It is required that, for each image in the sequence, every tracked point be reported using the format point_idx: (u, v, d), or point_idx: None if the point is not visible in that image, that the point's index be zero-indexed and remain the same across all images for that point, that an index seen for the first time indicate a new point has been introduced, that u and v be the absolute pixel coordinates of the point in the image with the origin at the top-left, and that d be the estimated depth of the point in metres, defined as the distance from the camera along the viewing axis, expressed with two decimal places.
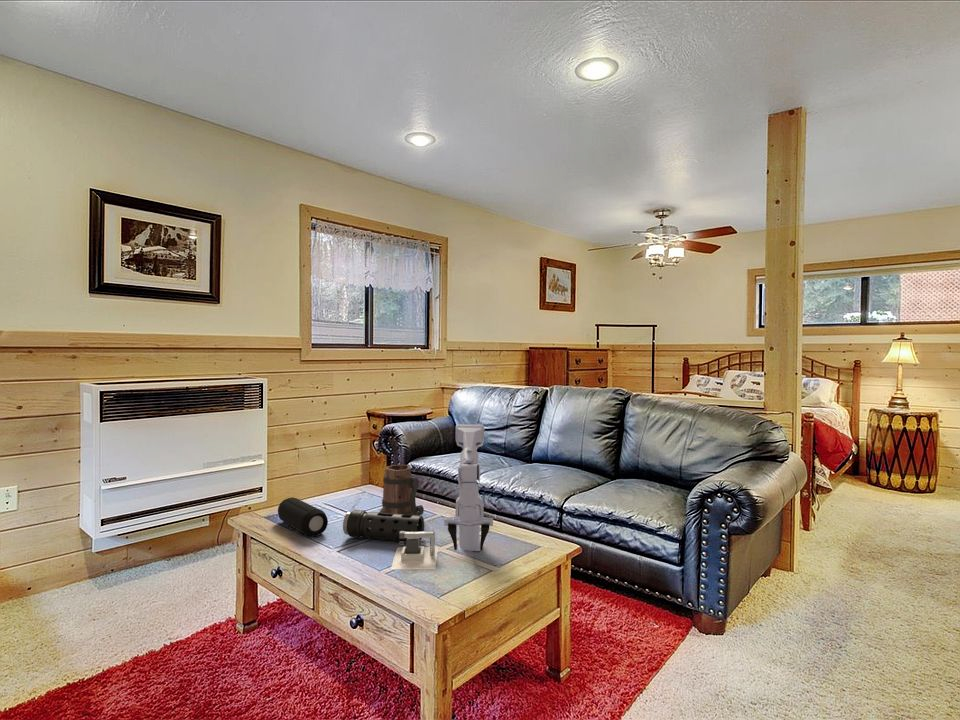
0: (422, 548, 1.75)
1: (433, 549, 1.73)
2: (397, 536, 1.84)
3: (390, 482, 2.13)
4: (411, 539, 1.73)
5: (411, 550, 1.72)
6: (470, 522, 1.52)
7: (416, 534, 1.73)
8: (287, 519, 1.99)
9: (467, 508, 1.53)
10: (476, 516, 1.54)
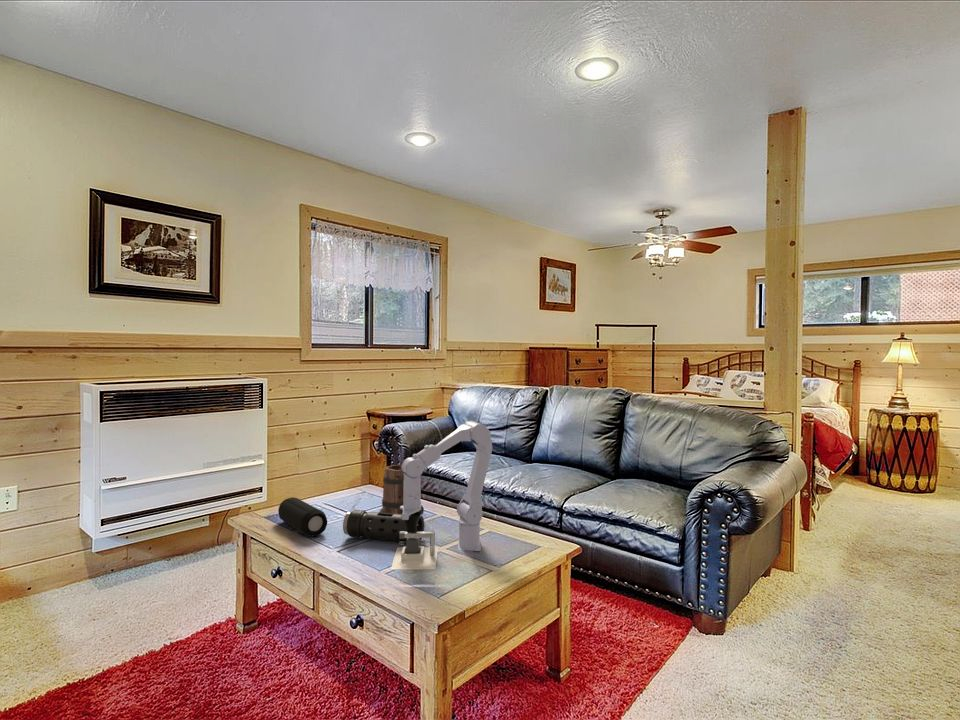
0: (422, 548, 1.75)
1: (433, 549, 1.73)
2: (397, 536, 1.84)
3: (390, 482, 2.13)
4: (411, 539, 1.73)
5: (411, 550, 1.72)
6: (401, 507, 1.75)
7: (416, 534, 1.73)
8: (287, 519, 1.99)
9: None
10: (405, 505, 1.73)
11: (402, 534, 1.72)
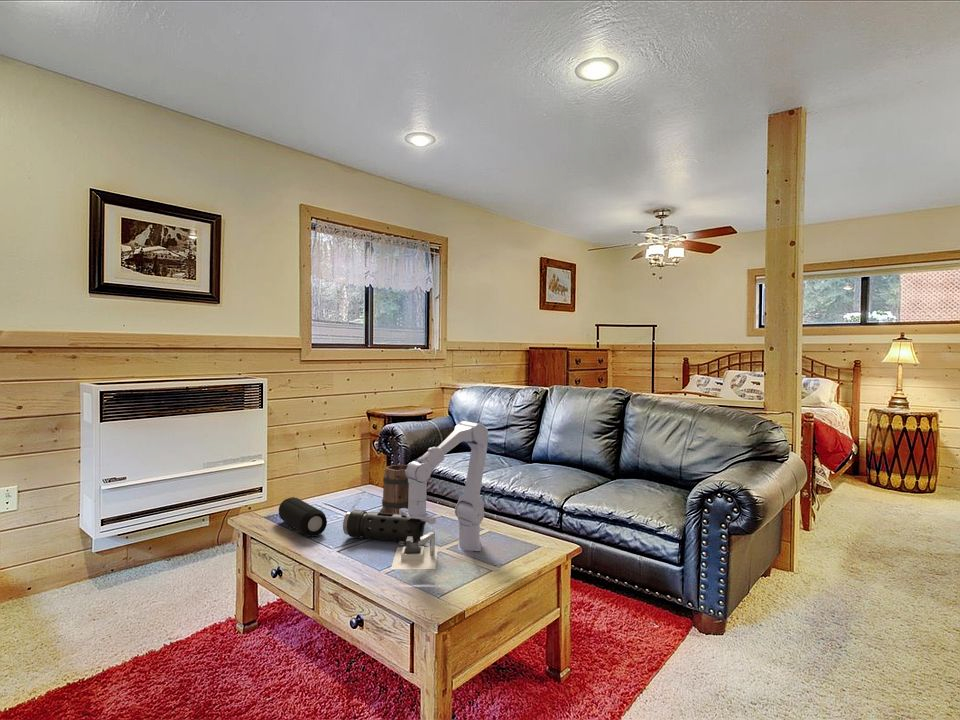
0: (422, 548, 1.75)
1: (434, 548, 1.74)
2: (397, 536, 1.84)
3: (390, 482, 2.13)
4: (411, 539, 1.73)
5: (411, 550, 1.72)
6: (410, 515, 1.65)
7: (425, 538, 1.69)
8: (287, 519, 1.99)
9: (410, 502, 1.66)
10: (418, 512, 1.65)
11: (417, 543, 1.65)
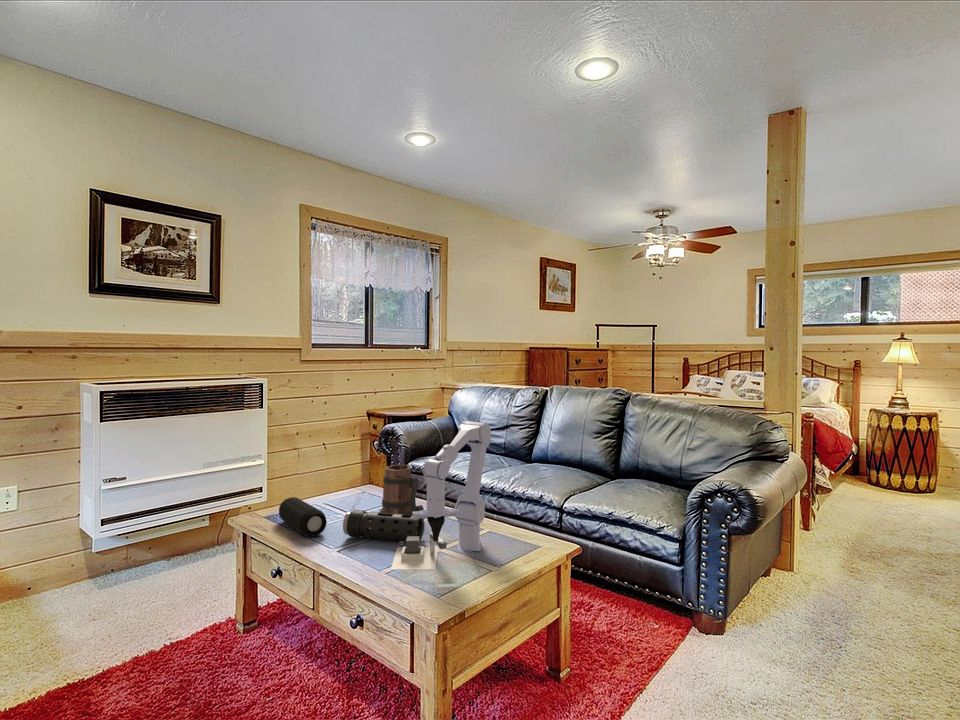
0: (422, 548, 1.75)
1: None
2: (397, 536, 1.84)
3: (390, 482, 2.13)
4: (411, 539, 1.73)
5: (411, 550, 1.72)
6: (438, 514, 1.62)
7: None
8: (287, 519, 1.99)
9: (435, 501, 1.63)
10: (443, 508, 1.65)
11: None
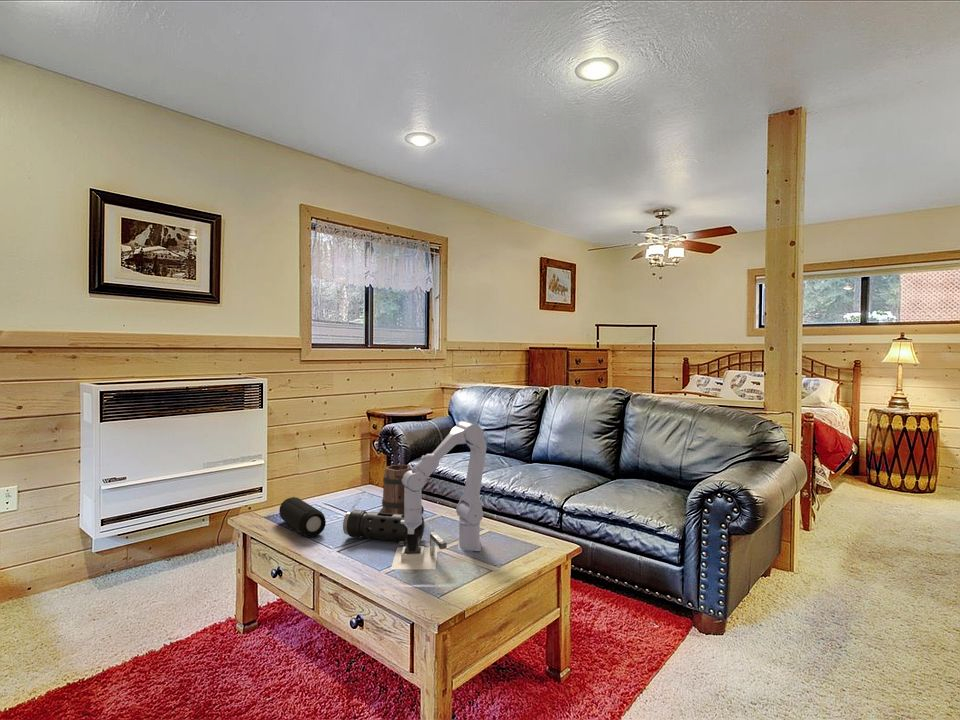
0: (422, 548, 1.75)
1: None
2: (397, 536, 1.84)
3: (390, 482, 2.13)
4: None
5: None
6: (402, 521, 1.73)
7: None
8: (287, 519, 1.99)
9: None
10: (407, 519, 1.71)
11: None
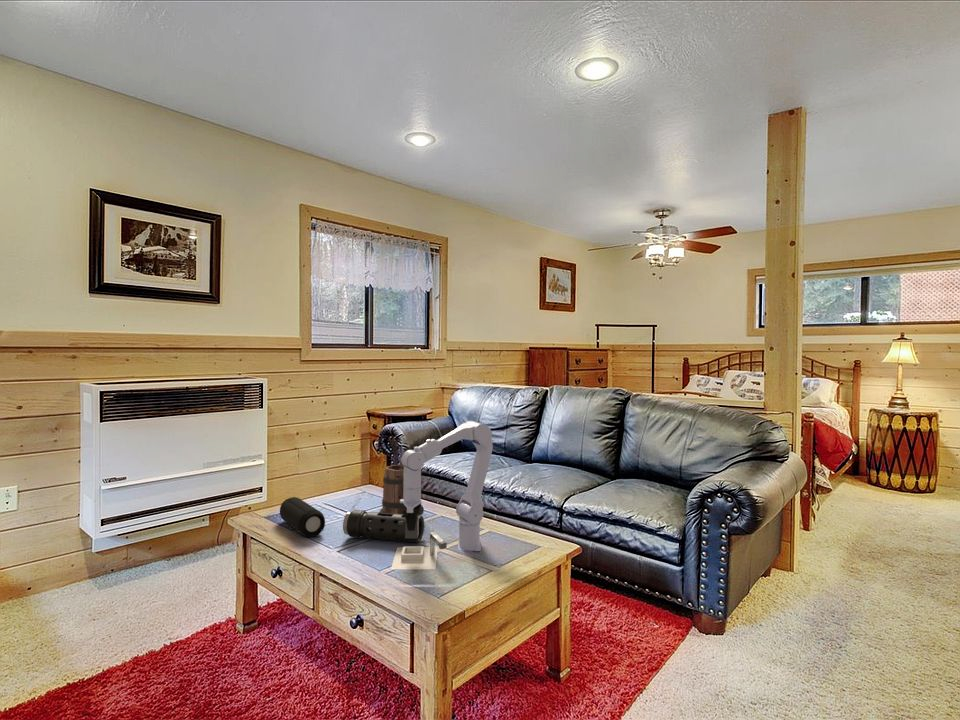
0: (422, 548, 1.75)
1: None
2: (397, 536, 1.84)
3: (390, 482, 2.13)
4: None
5: None
6: (401, 500, 1.72)
7: None
8: (287, 519, 1.99)
9: None
10: (406, 498, 1.70)
11: None
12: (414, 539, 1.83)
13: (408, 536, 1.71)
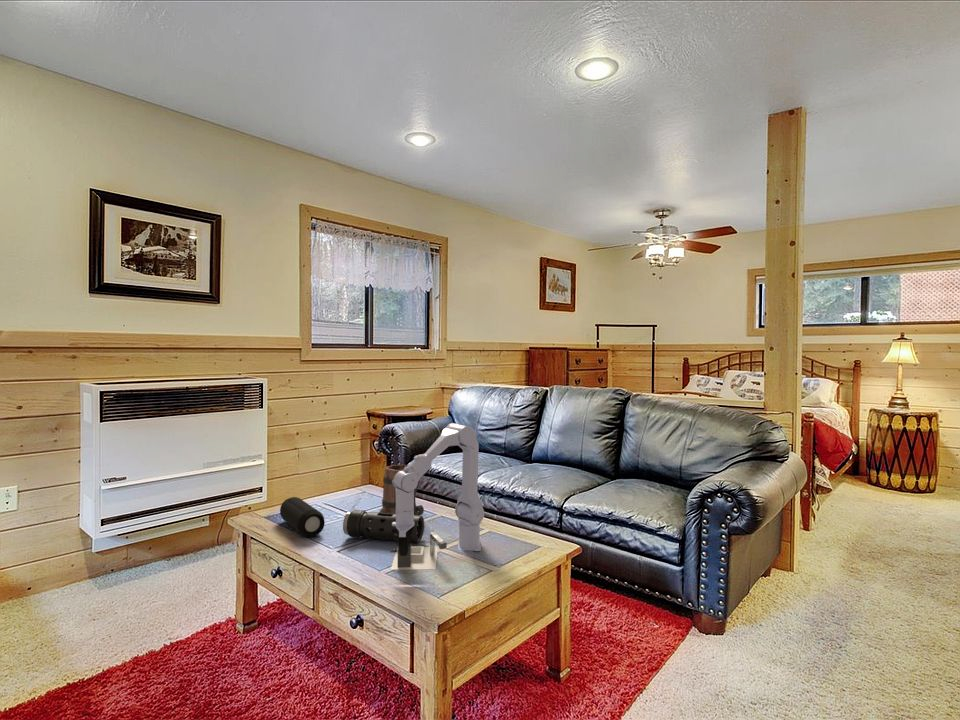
0: (422, 548, 1.75)
1: None
2: None
3: (390, 482, 2.13)
4: None
5: (402, 558, 1.65)
6: (394, 523, 1.66)
7: None
8: (287, 519, 1.99)
9: None
10: (398, 521, 1.64)
11: None
12: (414, 539, 1.83)
13: (400, 565, 1.65)
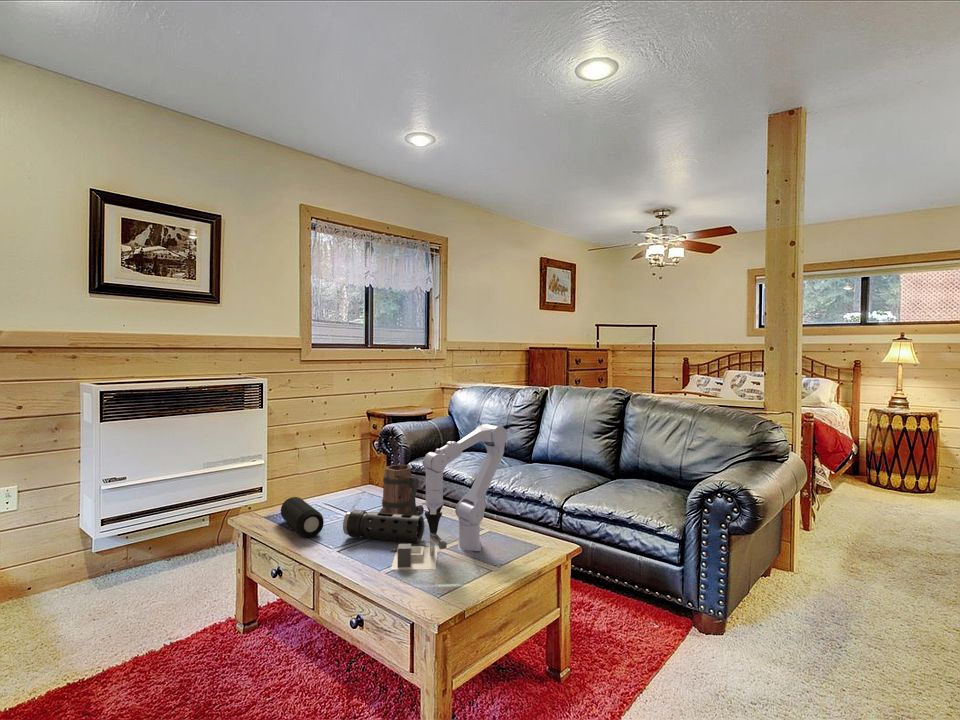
0: (422, 548, 1.75)
1: None
2: (397, 536, 1.84)
3: (390, 482, 2.13)
4: (403, 546, 1.66)
5: (402, 558, 1.65)
6: (424, 502, 1.74)
7: None
8: (286, 519, 1.99)
9: None
10: (429, 500, 1.72)
11: None
12: (414, 539, 1.83)
13: (400, 565, 1.65)
